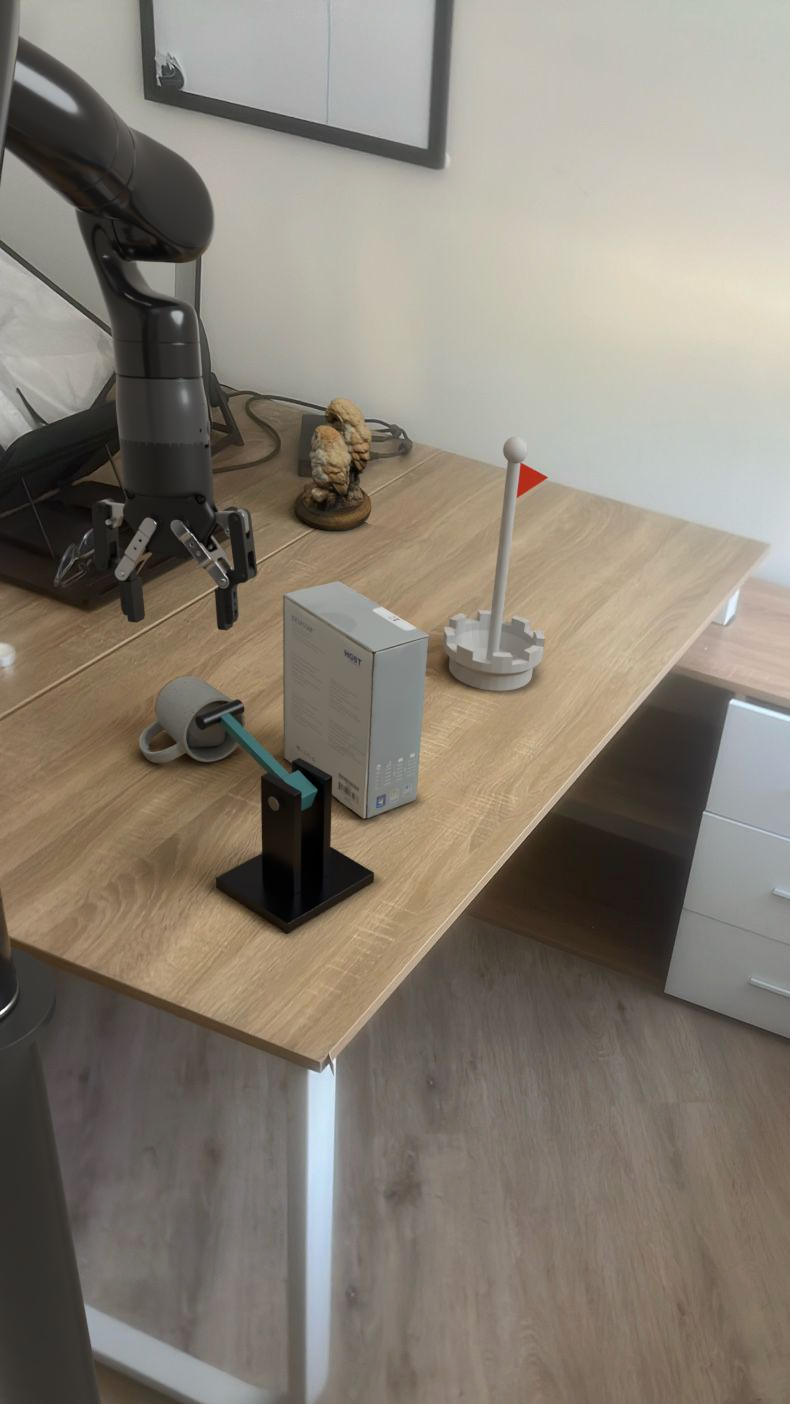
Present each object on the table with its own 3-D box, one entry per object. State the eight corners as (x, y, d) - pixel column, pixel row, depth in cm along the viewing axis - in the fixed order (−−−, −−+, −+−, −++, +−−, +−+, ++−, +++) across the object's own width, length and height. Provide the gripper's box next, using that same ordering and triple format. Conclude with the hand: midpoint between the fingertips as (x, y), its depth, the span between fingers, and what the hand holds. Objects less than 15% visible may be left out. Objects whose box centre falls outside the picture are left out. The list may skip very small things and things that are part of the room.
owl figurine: (304, 484, 208) (305, 374, 197) (376, 493, 209) (381, 385, 198) (287, 526, 194) (287, 411, 183) (364, 536, 195) (369, 422, 184)
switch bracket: (215, 887, 125) (210, 777, 117) (303, 839, 133) (304, 733, 125) (287, 933, 121) (287, 823, 113) (373, 882, 129) (379, 774, 121)
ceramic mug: (209, 720, 149) (206, 660, 144) (247, 752, 144) (244, 692, 139) (126, 745, 143) (119, 684, 138) (162, 779, 139) (157, 717, 134)
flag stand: (473, 701, 160) (499, 461, 141) (423, 655, 168) (440, 422, 149) (558, 684, 167) (594, 453, 147) (506, 641, 174) (533, 415, 155)
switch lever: (192, 726, 121) (197, 709, 120) (232, 709, 125) (237, 692, 123) (284, 820, 119) (290, 803, 118) (322, 800, 123) (328, 784, 121)
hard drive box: (419, 801, 142) (432, 636, 129) (364, 822, 137) (372, 653, 124) (334, 739, 149) (339, 577, 136) (279, 757, 145) (279, 592, 132)
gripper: (64, 433, 106) (88, 627, 114) (228, 443, 105) (241, 640, 112) (105, 425, 113) (125, 609, 120) (259, 435, 111) (270, 621, 119)
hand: (181, 624), depth 116 cm, fingers open, 8 cm apart
